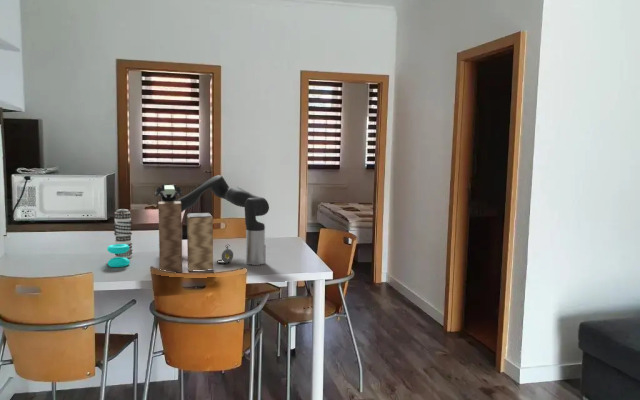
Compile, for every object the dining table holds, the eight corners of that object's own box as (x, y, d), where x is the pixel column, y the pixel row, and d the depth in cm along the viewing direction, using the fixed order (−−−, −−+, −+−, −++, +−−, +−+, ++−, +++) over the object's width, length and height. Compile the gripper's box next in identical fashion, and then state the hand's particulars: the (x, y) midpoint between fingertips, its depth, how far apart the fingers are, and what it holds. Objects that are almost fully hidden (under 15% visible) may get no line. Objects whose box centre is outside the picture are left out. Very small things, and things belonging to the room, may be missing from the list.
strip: (173, 189, 256) (173, 185, 255) (174, 194, 233) (174, 189, 233) (164, 189, 254) (164, 185, 254) (164, 194, 232) (164, 189, 231)
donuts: (105, 244, 244) (127, 242, 249) (106, 264, 245) (128, 262, 250) (108, 248, 235) (130, 246, 240) (109, 268, 236) (131, 266, 241)
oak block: (210, 264, 247) (210, 212, 244) (213, 270, 235) (212, 216, 233) (187, 266, 243) (187, 213, 241) (189, 272, 232) (188, 216, 229)
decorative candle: (137, 255, 264) (135, 209, 262) (123, 259, 256) (122, 211, 254) (124, 254, 268) (122, 208, 266) (110, 257, 260) (109, 210, 257)
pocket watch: (219, 261, 255) (219, 241, 254) (235, 262, 254) (235, 242, 253) (213, 264, 247) (213, 244, 246) (229, 265, 246) (229, 245, 245)
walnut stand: (181, 266, 242) (180, 201, 239) (182, 271, 233) (181, 203, 230) (159, 267, 239) (158, 201, 236) (159, 272, 230) (158, 203, 227)
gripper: (182, 205, 266) (183, 192, 251) (154, 206, 261) (154, 192, 246) (182, 192, 269) (183, 178, 254) (154, 193, 264) (153, 178, 249)
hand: (168, 185), depth 250 cm, fingers closed on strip, 4 cm apart
